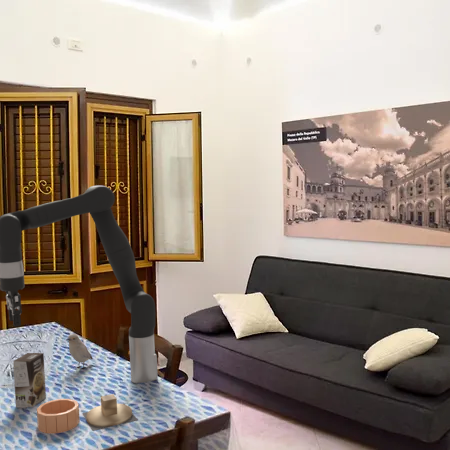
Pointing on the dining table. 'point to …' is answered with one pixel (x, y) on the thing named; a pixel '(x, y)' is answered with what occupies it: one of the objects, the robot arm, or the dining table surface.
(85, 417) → the rubber mat
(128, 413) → the oak lid
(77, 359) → the bird
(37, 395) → the coffee box
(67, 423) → the terracotta bowl
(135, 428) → the dining table surface
